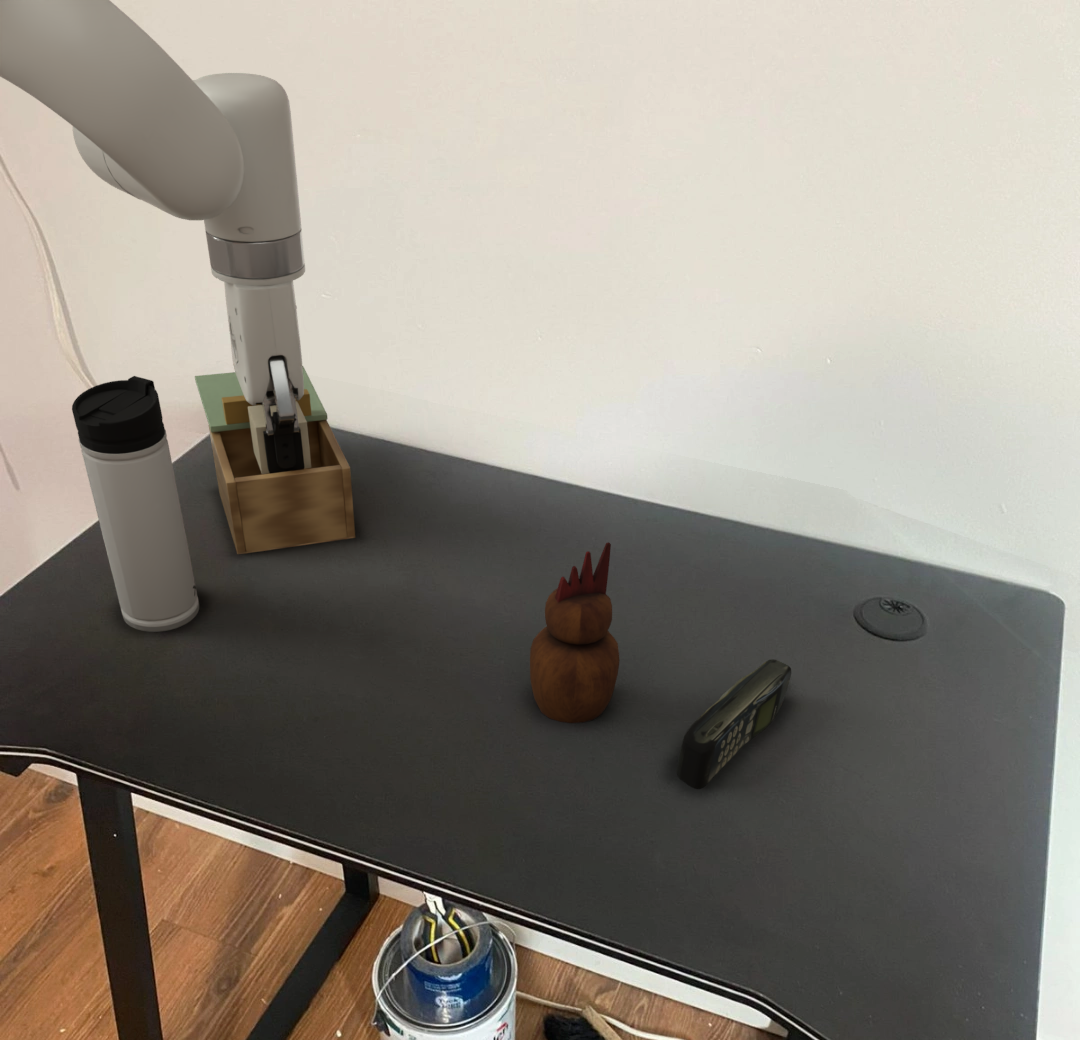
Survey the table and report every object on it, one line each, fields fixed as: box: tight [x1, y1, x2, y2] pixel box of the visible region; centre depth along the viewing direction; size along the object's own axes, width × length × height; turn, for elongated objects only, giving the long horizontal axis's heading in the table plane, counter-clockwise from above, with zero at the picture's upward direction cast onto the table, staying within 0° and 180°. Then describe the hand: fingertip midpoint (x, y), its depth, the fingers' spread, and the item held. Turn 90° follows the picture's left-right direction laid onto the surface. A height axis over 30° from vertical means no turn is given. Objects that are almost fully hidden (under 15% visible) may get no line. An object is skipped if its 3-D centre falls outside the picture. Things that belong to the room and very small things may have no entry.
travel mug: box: [71, 375, 200, 633], centre depth 85 cm, size 6×7×20 cm
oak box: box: [208, 419, 356, 555], centre depth 102 cm, size 11×12×8 cm
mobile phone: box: [676, 658, 792, 790], centre depth 81 cm, size 5×3×15 cm
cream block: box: [248, 401, 311, 474], centre depth 97 cm, size 4×4×4 cm
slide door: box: [194, 365, 328, 432], centre depth 105 cm, size 11×12×3 cm
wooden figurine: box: [529, 542, 620, 724], centre depth 80 cm, size 7×6×15 cm
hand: (281, 456), depth 98 cm, fingers closed on cream block, 4 cm apart
